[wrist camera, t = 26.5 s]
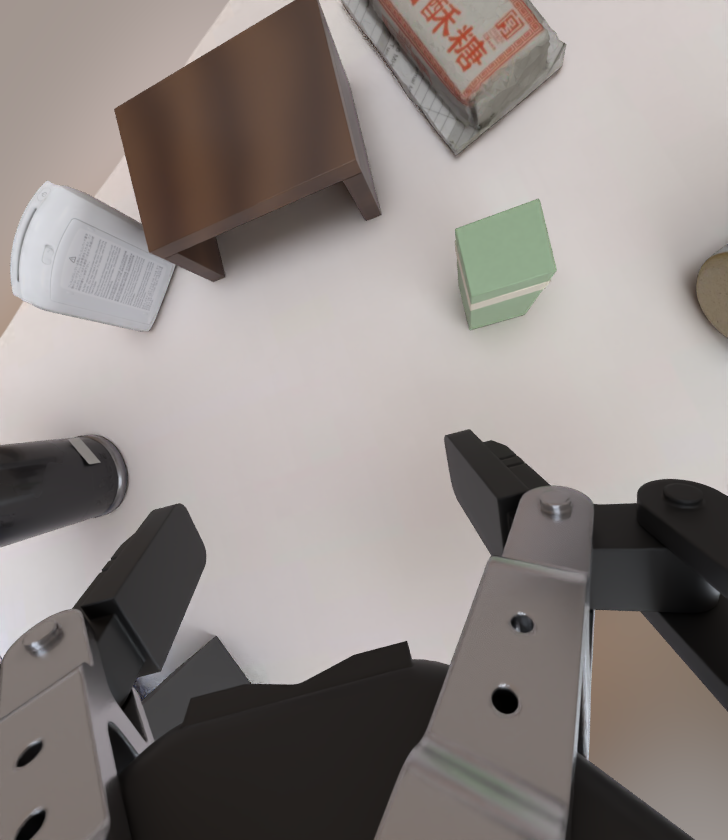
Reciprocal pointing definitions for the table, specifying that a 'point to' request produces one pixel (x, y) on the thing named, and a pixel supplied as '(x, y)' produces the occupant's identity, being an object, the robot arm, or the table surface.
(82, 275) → the photo printer
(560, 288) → the table surface
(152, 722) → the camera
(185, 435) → the table surface
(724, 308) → the ceramic mug
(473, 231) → the box
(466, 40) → the packaged product
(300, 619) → the table surface
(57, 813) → the robot arm
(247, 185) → the shelf stand
